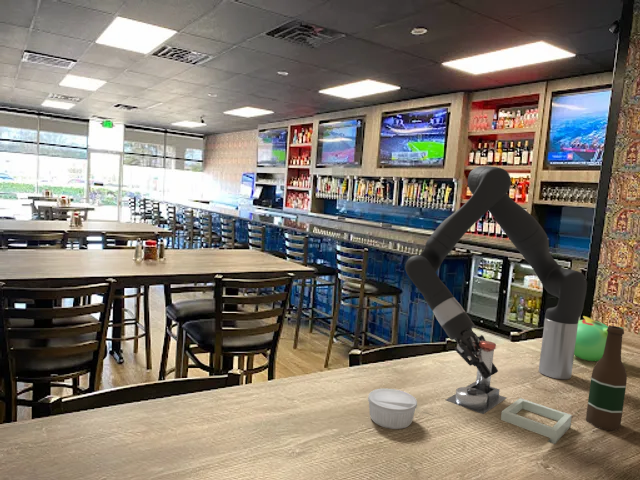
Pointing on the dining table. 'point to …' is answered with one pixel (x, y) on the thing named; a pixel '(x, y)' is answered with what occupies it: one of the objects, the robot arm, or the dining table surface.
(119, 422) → the dining table surface
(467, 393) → the grey piece
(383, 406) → the ramekin
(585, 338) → the green rounded piece
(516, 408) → the rectangular frame
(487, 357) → the lock pin
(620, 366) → the beer bottle
